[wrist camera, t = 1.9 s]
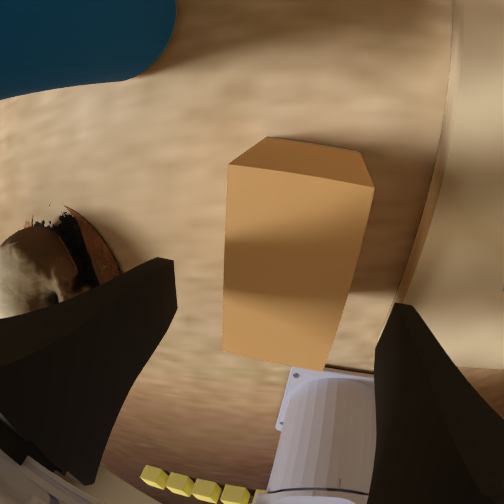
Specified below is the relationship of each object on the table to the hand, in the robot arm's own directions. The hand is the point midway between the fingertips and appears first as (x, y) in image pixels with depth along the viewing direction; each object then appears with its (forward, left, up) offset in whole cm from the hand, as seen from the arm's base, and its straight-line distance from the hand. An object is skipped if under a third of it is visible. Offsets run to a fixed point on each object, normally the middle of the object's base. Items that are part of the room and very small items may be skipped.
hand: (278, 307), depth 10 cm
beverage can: (+10, +10, -7) cm, 16 cm away
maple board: (+4, -14, -7) cm, 16 cm away
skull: (-7, +17, -8) cm, 20 cm away
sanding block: (0, 0, -7) cm, 7 cm away
